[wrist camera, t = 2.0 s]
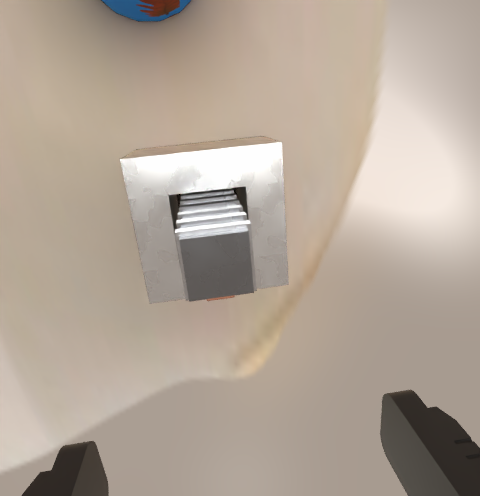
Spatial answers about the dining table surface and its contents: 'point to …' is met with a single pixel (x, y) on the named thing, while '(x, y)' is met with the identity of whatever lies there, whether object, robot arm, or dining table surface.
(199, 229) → the column
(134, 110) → the dining table surface
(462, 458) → the robot arm
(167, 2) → the thermos
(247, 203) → the housing
